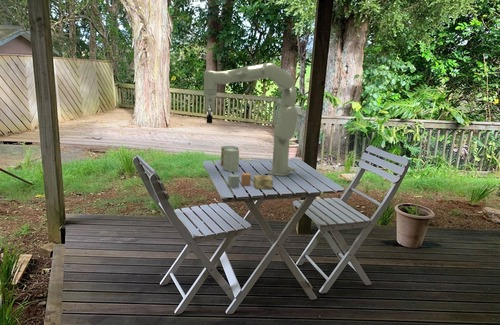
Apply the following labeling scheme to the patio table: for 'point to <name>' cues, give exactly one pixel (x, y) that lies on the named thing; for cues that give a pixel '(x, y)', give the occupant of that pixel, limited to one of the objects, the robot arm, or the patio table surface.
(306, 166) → the patio table surface
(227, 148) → the canned food
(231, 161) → the small box
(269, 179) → the tan square tray
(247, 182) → the terracotta block
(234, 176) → the slate block
